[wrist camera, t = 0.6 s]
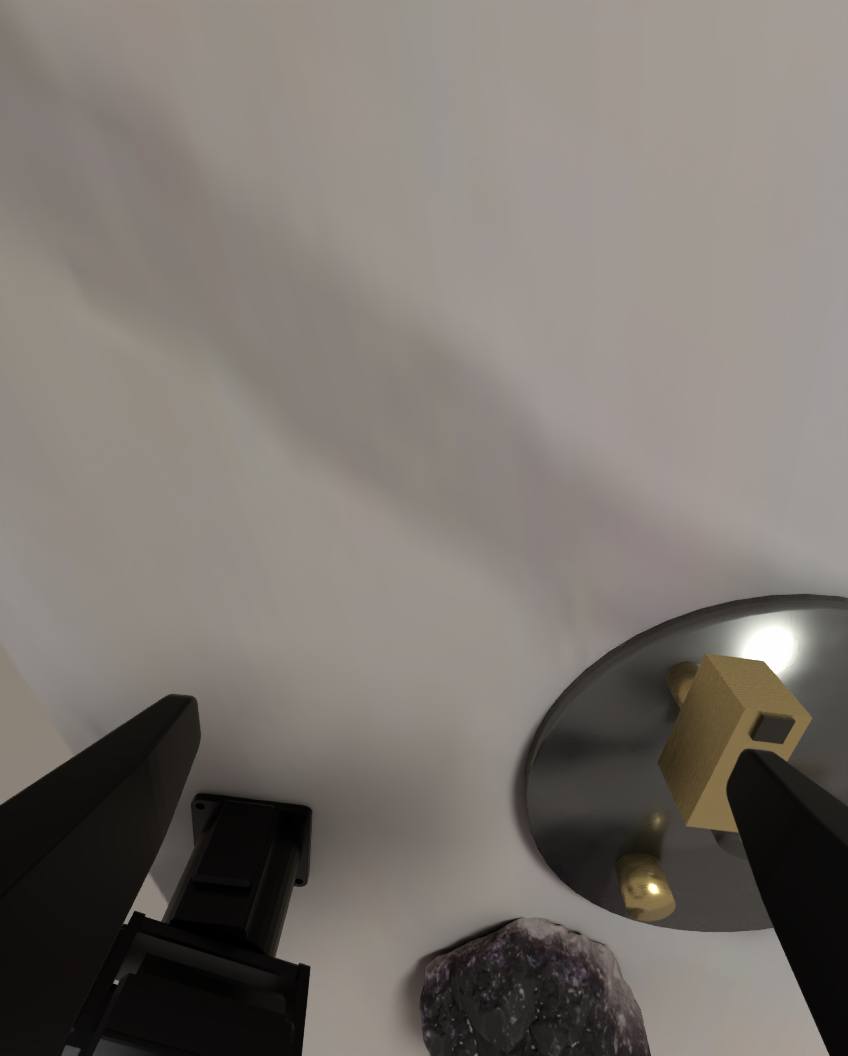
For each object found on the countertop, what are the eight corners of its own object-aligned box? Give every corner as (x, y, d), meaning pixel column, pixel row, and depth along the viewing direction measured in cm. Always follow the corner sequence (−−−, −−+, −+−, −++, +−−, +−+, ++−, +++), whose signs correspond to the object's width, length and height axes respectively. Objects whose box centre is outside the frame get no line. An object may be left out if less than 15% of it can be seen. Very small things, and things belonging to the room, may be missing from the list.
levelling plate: (851, 929, 31) (892, 994, 29) (490, 885, 31) (494, 947, 28) (1091, 629, 22) (1187, 680, 19) (584, 562, 22) (605, 604, 19)
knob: (687, 728, 24) (747, 837, 19) (639, 722, 23) (687, 829, 19) (733, 625, 21) (815, 721, 16) (680, 618, 21) (747, 712, 16)
